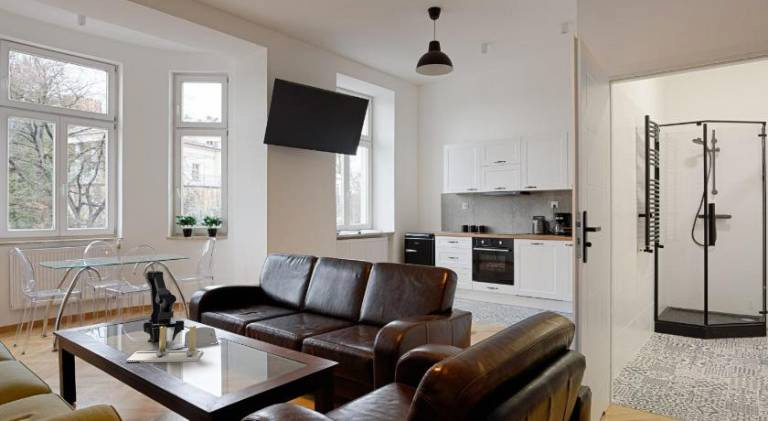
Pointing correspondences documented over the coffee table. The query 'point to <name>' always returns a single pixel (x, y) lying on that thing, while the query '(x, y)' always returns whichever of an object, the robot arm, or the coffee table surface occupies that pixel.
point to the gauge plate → (171, 352)
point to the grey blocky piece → (202, 336)
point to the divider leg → (162, 342)
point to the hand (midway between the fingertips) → (162, 341)
